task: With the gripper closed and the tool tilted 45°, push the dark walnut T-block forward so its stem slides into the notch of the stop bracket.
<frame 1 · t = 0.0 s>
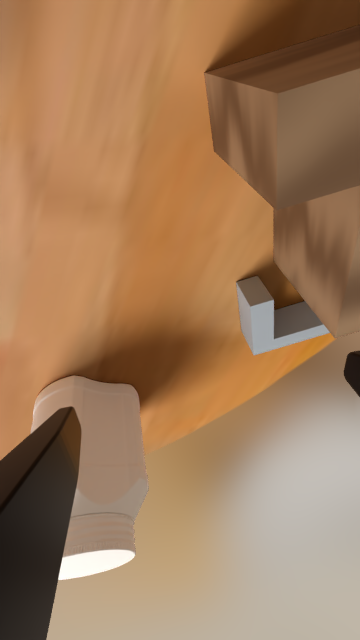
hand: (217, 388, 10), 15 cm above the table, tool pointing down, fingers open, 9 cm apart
tee block: (303, 123, 19), on the table
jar: (89, 402, 35), on the table
stop bracket: (293, 291, 29), on the table
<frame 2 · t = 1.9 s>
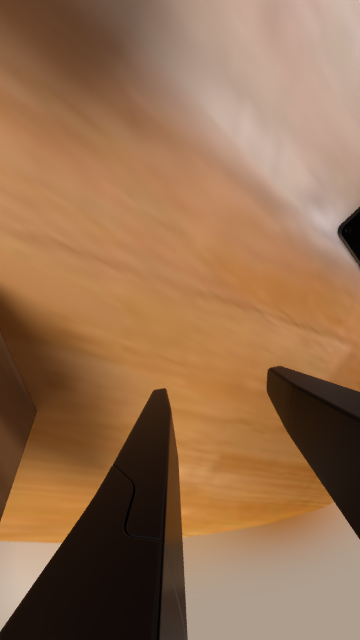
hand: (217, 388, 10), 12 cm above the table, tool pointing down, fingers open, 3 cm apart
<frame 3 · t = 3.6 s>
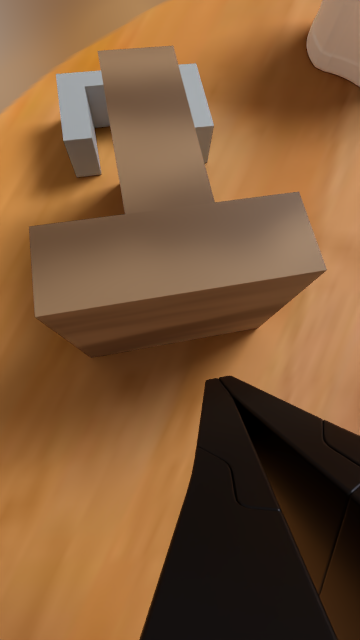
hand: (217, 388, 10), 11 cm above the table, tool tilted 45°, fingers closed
tee block: (167, 290, 22), on the table
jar: (359, 56, 31), on the table
stop bracket: (137, 139, 26), on the table
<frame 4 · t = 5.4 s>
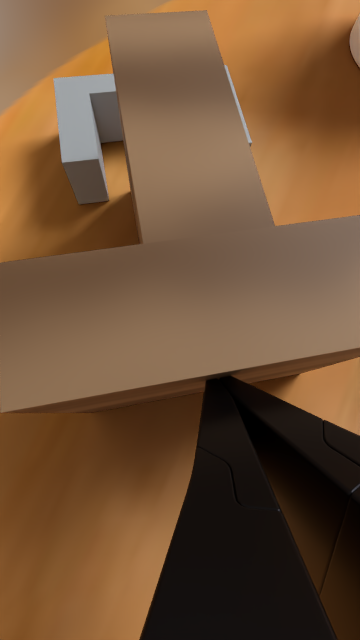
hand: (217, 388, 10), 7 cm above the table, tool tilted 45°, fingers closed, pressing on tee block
tee block: (186, 324, 18), on the table, touching gripper
stop bracket: (152, 156, 21), on the table
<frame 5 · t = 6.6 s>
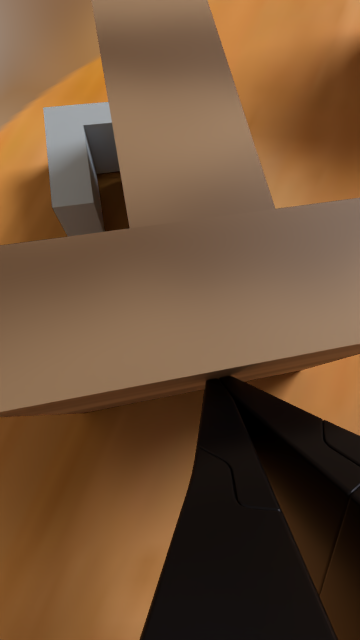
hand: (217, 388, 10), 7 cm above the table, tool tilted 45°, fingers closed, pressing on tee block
tee block: (181, 320, 17), on the table, touching gripper
stop bracket: (154, 189, 19), on the table
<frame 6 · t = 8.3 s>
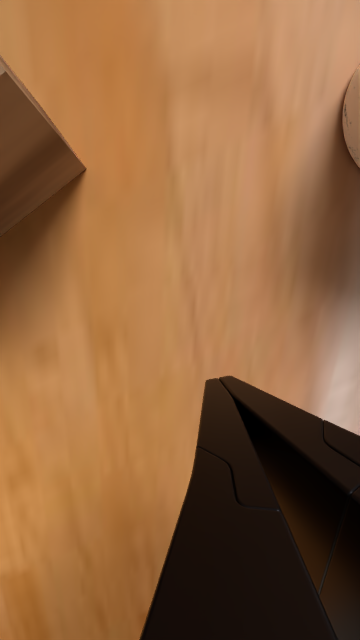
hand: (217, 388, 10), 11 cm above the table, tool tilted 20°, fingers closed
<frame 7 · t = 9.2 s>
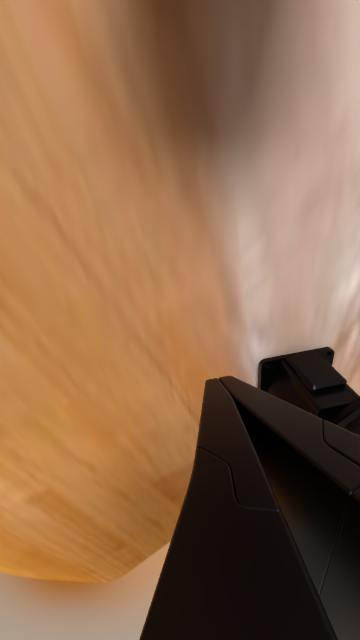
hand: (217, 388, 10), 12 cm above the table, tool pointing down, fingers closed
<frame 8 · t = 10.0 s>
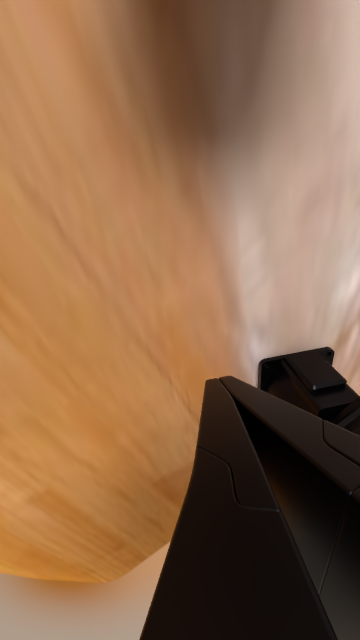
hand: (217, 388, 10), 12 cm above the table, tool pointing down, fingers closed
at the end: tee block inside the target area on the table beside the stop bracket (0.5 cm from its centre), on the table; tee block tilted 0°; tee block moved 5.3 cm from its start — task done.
